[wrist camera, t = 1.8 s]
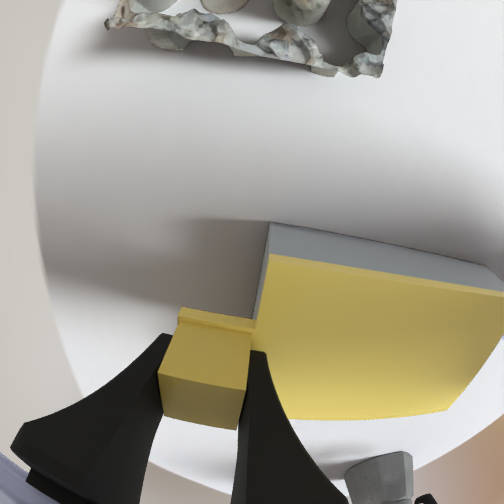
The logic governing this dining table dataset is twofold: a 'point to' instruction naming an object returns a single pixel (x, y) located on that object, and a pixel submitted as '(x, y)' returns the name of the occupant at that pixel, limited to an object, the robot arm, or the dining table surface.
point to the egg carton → (273, 43)
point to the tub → (371, 258)
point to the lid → (334, 346)
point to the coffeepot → (384, 481)
